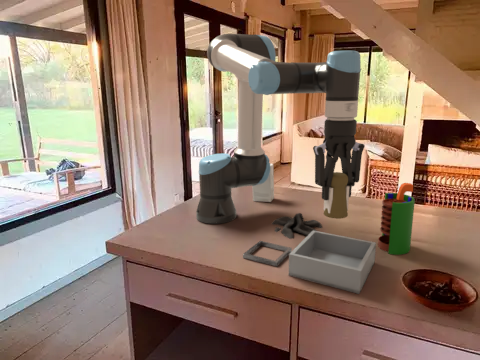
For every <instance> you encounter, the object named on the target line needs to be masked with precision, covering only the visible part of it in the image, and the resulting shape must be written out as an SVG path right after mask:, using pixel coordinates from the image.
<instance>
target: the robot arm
mask: <svg viewBox="0 0 480 360" xmlns="http://www.w3.org/2000/svg"><path fill="white" fill-rule="evenodd" d="M206 56H207V59H208V62H209V64H210V65H211V66H212V67H213V68H215V69H216V70H218V71H219V72H228V73H231V74H232V75H234V76H235V77H236V78H237V80H238V121H237V122H238V125H237V126H238V128H237V129H238V130H237V131H238V132H237V133H238V134H237V136H238V137H237V138H238V139H237V147H236V148H235V149H234V150H233V156H231V155H230V154H229V153H225V152H224V153H214V154H211V155H207V156H204V157H202V158H201V159H200V160H199V162H198V179H199V180H198V181H199V196H200V197H199V201H198V204H197V208H196V212H195V213H196V220H197V221H199V222H201V223H205V224H210V225H212V224H213V225H214V224H215V225H216V224H217V225H218V224H225V223H229V222H232V221H234V220H235V219H236V218H237V209H236V206H235V203H234V200H233V197H232V189H237V188H242V187H252V186H255V185H258V184H262V183H264V182H265V181H266V180H267V179H268V177H269V174H270V164H271V161H270V158H269V156H268V155H266V153H265V152H266V150H264V149H263V148H262V132H263V131H262V129H263V128H262V127H263V126H262V123H263V102H264V101H263V100H264V99H263V98H264V97H263V95H265V96H269V95H281V94H282V95H284V94H285V95H286V94H289V95H290V94H325V103H324V104H325V106H324V108H325V109H324V117H325V118H326V119H325V120H324V126H323V127H324V129H323V130H324V131H323V132H324V140H322V141H323V142H322V143H321V144H318V145H314V146H313V147H312V149H313V153H314V158H315V159H314V183H315V184H316V185H317V186H320V187H321V199H322V200H323V212H324V211H325V209H326V208H327V209H328V213H330V211H331V205H332V200H333V188H331V187H330V186H331V182H332V178H333V173H334V172H335V169H336V164H337V162H338V160H339V159H340V166H341V173H344V174H346V175H347V176H348V183H347V185H346V186H345V187H346V200H347V212H348V211H349V201H350V198H351V196H352V188H353V187H354V186H355V185H356V183H359V182H360V175H361V165H362V154H363V151H364V149H365V144H364V143H361V142H357V141H356V137H355V136H356V134H357V127H358V126H357V123H358V122H357V119H355V118H357V117H358V110H359V109H358V107H359V93H360V78H361V70H362V68H361V65H362V64H361V53H360V52H359V51H356V50H347V49H346V50H333V51H330V52H329V53H328V54H327V57H326V58H327V59H326V61H325V62H322V61H321V62H292V61H291V62H286V61H284V62H282V61H276V48H275V46H274V43H273V42H272V39H270V38H269V37H268V36H267V35H263V34H262V35H261V34H247V33H246V34H243V33H242V34H241V33H224V34H220V35H217V36H216V37H215V38H213V39H212V40H211V41H210V42H209V44H208V47H207V51H206ZM325 153H326V155H325ZM325 159H326V160H325Z"/></svg>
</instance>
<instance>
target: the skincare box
mask: <svg viewBox="0 0 480 360" xmlns="http://www.w3.org/2000/svg"><path fill="white" fill-rule="evenodd" d="M251 187H252V201H253V202H262V203H263V202H264V203H271V202H272V201H273V200H274V198H275V180H274V163H270V174H269V177H268V179H267V180H266V181H265V182H264V183H262V184H258V185H255V186H251Z"/></svg>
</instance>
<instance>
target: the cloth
mask: <svg viewBox="0 0 480 360" xmlns="http://www.w3.org/2000/svg"><path fill="white" fill-rule="evenodd" d="M271 225H276V226H280V227H274V232H275V233H279V232H280V231H281V230H282V231H281V234H282V235H283V236H284V237H285V238H287V239H290V240H293V239H294V238H295V235H294V233H299V234H301V235H303V236H305V238H306V237H307V236H308V235H309V234H310V233H311V232H312V231H313V230H314V231H318V230H317V229H315V228H318V229H323V225H322V224H321V222H319V221H318V220H316V219H311V220H305V219H304V216H303V214H302V213H301V212H298V213H296V214H295V215H294V216H293V217H291V216H287V215H285V216H281V217H278V218H276V219H274V220H273V221H272V222H271ZM281 227H282V228H281Z"/></svg>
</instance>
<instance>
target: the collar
mask: <svg viewBox="0 0 480 360" xmlns="http://www.w3.org/2000/svg"><path fill="white" fill-rule="evenodd" d="M261 247H265V248H269V249H274V250H278V251H282V252H283V253H281V255H280V256H278V257H277V258H276V259H270V258H266V257H261V256H258V255H253V253H254V252H255V251H257V250H258V249H259V248H261ZM292 249H293V248H292V247H290V246H285V245H281V244H276V243H271V242H268V241H263V240H259V241H258V242H257V243H254V245H252V246H251V247H250V248H249V249H248V250H246V251H245V252H244V253H243V254H242V258H243V259H246V260H249V261H253V262H257V263H261V264H266V265H269V266H273V267H278V266H279V265H280V264H281V263H282V262H283V261H284V260H285V258H287V257H289V254H290V253H291V252H292V251H293V250H292Z"/></svg>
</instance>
